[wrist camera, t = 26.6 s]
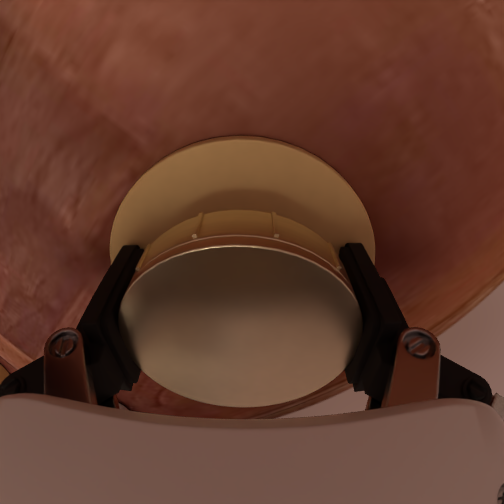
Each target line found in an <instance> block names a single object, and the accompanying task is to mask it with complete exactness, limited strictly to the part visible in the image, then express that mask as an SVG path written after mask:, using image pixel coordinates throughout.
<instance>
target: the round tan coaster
mask: <svg viewBox="0 0 504 504" xmlns="http://www.w3.org/2000/svg"><path fill="white" fill-rule="evenodd" d="M227 210H252V211H260V212H266V213H272V212H276V215H278V216H282V217H285V218H288V219H291V220H293V221H295V222H297V223H299V224H301V225H304V226H305V227H307V228H309V229H310V230H312V231H313V232H315V233H316V234H318V235H319V236H320V237H321V238H322V239H323V240H325V241H326V242H327V243H329V242H330V243H331V244H332V245H333V248H334V250H335V252H336V254H337V255H338V256H339V251H340V248H341V247H345V244H346V243H362V244H363V246H364V248H365V250H366V251H367V253H368V255H369V257H370V259H371V261H372V263H373V264H375V241H374V233H373V229H372V226H371V222H370V219H369V216H368V214H367V212H366V210H365V208H364V206H363V204H362V202H361V200H360V199H359V197H358V196H357V195H356V193H355V192H354V190H353V189H352V188H351V186H350V185H349V184H348V183H347V181H346V180H345V179H344V178H343V177H342V176H341V175H340V174H339V173H338V172H337V171H336V170H335V169H334V168H332V167H331V166H330V165H328V164H327V163H325V162H324V161H323V160H321V159H320V158H319V157H317V156H315V155H313V154H311V153H309V152H307V151H306V150H304V149H302V148H299V147H297V146H294V145H291V144H288V143H285V142H282V141H279V140H274V139H269V138H264V137H256V136H228V137H217V138H212V139H208V140H204V141H200V142H196V143H193V144H191V145H188V146H186V147H183V148H181V149H179V150H176V151H175V152H173V153H171V154H170V155H168V156H166V157H164V158H163V159H161V160H160V161H158V162H157V163H156V164H155V165H153V166H152V167H151V168H150V169H149V170H147V171H146V172H145V173H144V174H143V175H142V176H141V177H140V179H139V180H138V181H137V182H136V183H135V184H134V185H133V187H132V188H131V189H130V190H129V192H128V193H127V195H126V196H125V198H124V200H123V201H122V203H121V204H120V207H119V209H118V212H117V214H116V216H115V219H114V223H113V227H112V231H111V238H110V259H111V264H112V263H113V261H114V259H115V258H116V256H117V254H118V253H119V251H120V249H121V248H122V246H123V245H138V246H139V247H140V249H144V251H145V249H146V247H147V245H148V244H150V245H151V244H152V243H153V242H154V241H155V240H157V239H158V238H159V237H160V236H161V235H162V234H163V233H165V232H166V231H168V230H169V229H171V228H172V227H174V226H176V225H178V224H180V223H182V222H184V221H186V220H188V219H191V218H194V217H197V216H198V215H199V213H202V212H203V214H207V213H212V212H217V211H227Z"/></svg>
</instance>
